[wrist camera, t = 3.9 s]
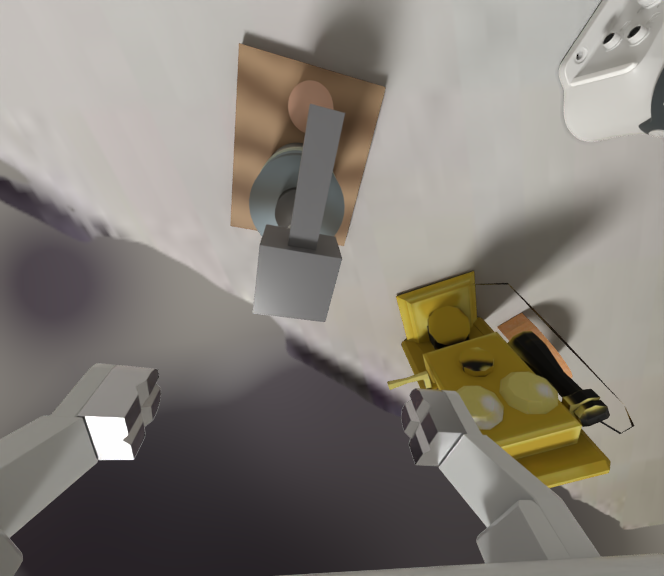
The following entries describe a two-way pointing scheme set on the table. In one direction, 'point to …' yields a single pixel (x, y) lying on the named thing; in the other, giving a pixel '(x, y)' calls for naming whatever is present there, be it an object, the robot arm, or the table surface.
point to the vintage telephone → (503, 382)
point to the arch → (524, 324)
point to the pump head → (303, 233)
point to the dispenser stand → (294, 141)
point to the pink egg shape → (307, 101)
